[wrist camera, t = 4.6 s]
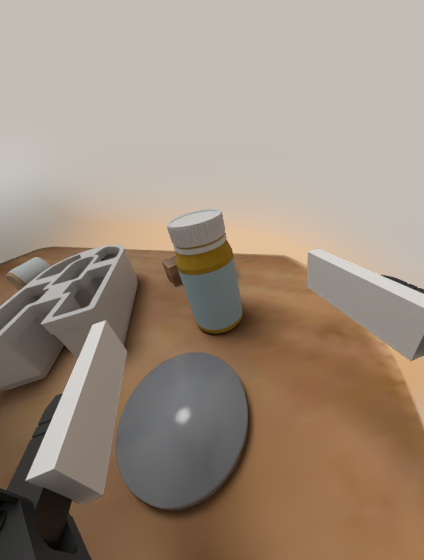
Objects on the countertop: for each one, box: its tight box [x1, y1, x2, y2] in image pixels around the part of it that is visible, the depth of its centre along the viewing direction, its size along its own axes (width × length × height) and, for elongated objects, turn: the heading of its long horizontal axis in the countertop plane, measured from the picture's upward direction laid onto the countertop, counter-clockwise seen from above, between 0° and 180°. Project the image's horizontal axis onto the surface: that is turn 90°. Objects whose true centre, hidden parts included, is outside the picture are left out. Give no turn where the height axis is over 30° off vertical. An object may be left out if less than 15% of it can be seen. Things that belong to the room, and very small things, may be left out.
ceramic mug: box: [7, 257, 51, 290], centre depth 53 cm, size 11×8×8 cm
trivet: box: [116, 353, 249, 511], centre depth 18 cm, size 12×12×1 cm
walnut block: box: [162, 256, 182, 286], centre depth 41 cm, size 4×4×4 cm
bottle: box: [167, 209, 243, 334], centre depth 25 cm, size 7×7×15 cm
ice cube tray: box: [0, 245, 138, 390], centre depth 36 cm, size 17×28×9 cm, turn 13°
